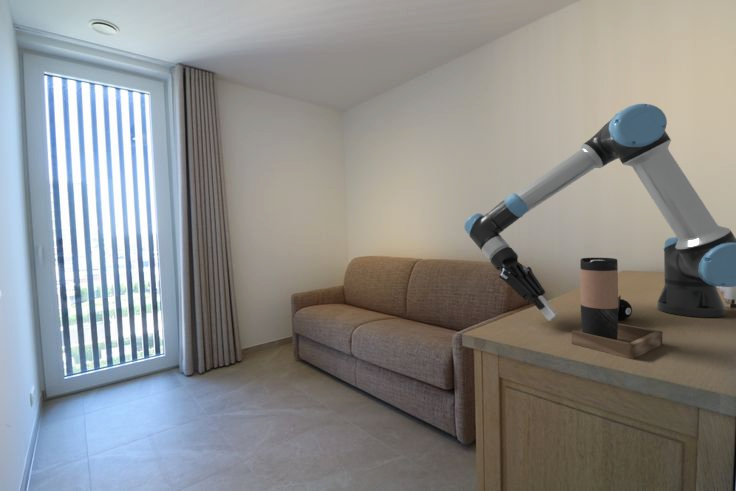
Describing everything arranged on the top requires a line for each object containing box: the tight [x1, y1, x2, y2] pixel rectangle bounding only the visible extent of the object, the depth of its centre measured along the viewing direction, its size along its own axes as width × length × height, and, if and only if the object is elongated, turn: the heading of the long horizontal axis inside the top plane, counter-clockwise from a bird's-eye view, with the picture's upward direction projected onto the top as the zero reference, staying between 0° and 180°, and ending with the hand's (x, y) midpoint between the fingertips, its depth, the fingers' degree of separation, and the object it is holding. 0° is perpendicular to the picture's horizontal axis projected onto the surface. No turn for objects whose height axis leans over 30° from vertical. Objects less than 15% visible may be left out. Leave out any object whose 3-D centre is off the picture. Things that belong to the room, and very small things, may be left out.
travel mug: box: [579, 257, 619, 340], centre depth 84 cm, size 8×8×20 cm
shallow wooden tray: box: [571, 322, 663, 360], centre depth 81 cm, size 15×12×3 cm
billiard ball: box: [618, 298, 633, 321], centre depth 101 cm, size 6×6×6 cm
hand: (553, 317), depth 94 cm, fingers closed
